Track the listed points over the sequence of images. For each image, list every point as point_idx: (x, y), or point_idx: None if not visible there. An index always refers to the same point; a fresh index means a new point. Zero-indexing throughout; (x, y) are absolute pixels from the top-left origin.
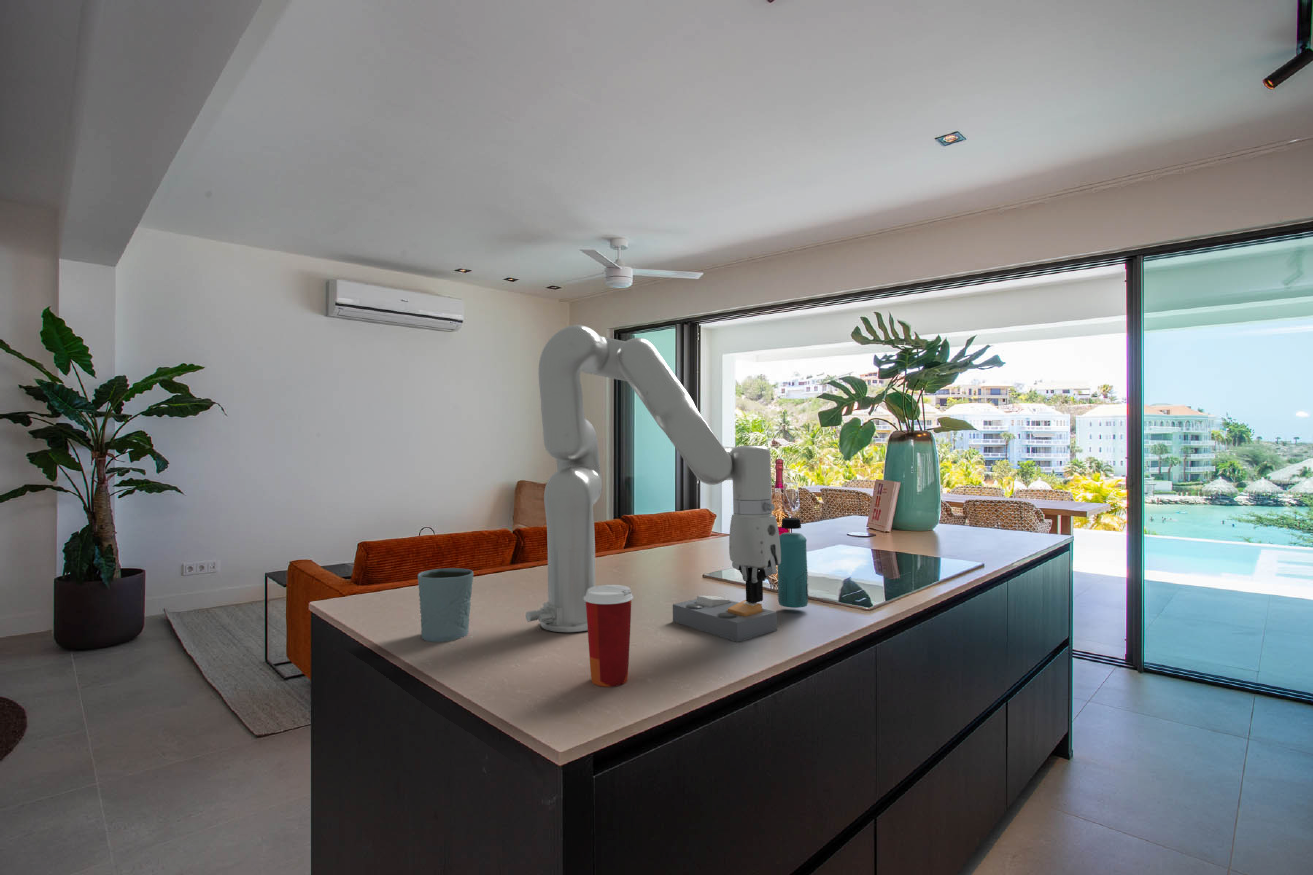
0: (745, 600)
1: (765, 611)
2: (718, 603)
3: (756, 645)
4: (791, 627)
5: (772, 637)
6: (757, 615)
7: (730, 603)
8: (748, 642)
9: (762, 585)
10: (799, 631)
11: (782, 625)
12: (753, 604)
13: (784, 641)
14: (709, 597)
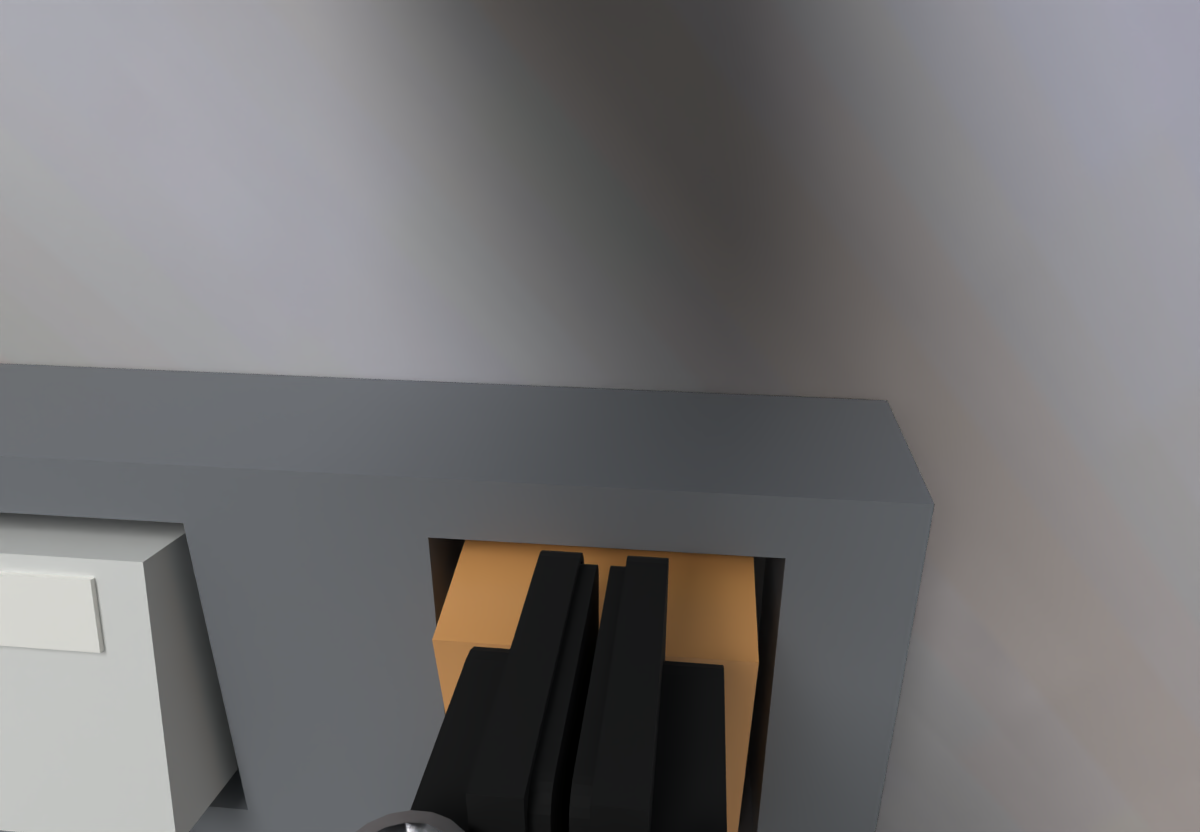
0: (455, 648)
1: (794, 572)
2: (191, 715)
3: (995, 828)
4: (956, 182)
5: (985, 603)
6: (833, 751)
7: (211, 567)
8: (895, 813)
9: (724, 814)
10: (1126, 248)
11: (818, 195)
12: None
13: (1152, 623)
14: (27, 751)
